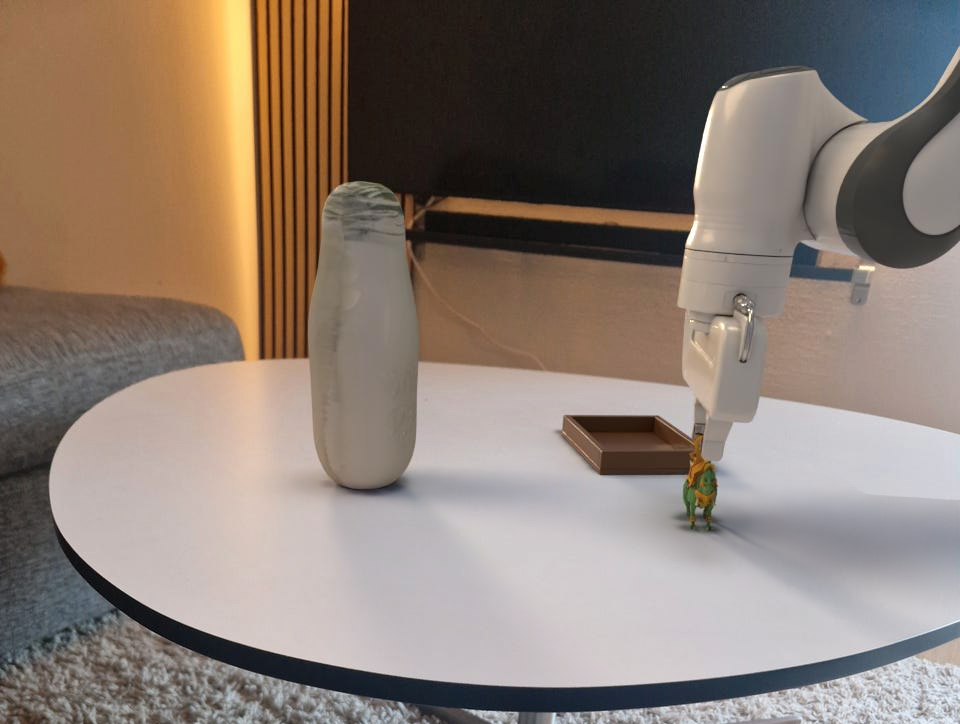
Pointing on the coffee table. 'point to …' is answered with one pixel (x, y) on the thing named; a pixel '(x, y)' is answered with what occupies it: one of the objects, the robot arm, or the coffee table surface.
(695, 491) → the figurine
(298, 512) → the coffee table surface
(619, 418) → the walnut tray
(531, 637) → the coffee table surface
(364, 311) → the grey tall rounded cylinder
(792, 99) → the robot arm
